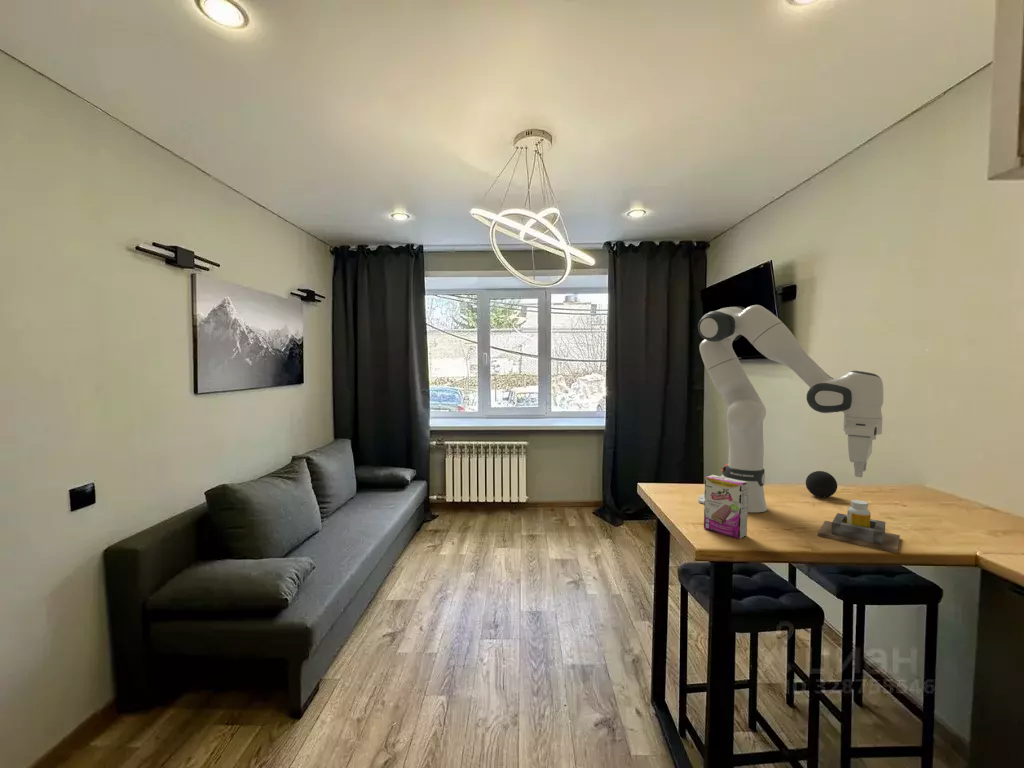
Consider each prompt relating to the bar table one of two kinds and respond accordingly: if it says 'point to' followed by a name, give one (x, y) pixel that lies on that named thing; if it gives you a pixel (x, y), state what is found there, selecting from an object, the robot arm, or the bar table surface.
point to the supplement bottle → (858, 514)
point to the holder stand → (860, 533)
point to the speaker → (821, 484)
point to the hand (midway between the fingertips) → (860, 473)
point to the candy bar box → (726, 506)
